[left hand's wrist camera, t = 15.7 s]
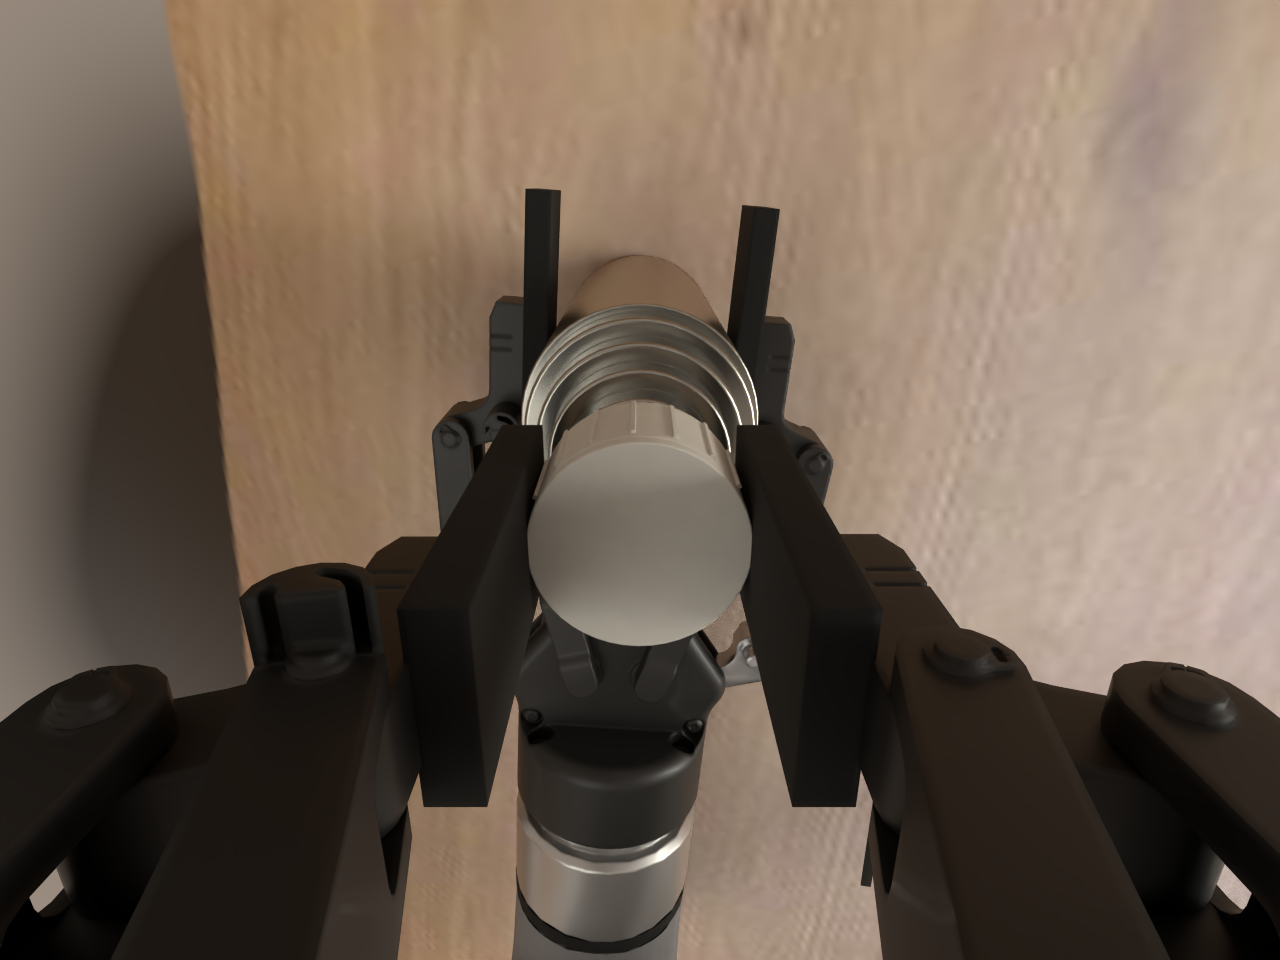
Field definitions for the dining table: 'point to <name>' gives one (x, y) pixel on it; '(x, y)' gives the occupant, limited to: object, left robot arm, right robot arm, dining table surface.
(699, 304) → the bottle
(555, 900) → the right robot arm
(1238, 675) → the dining table surface
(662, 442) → the cap
